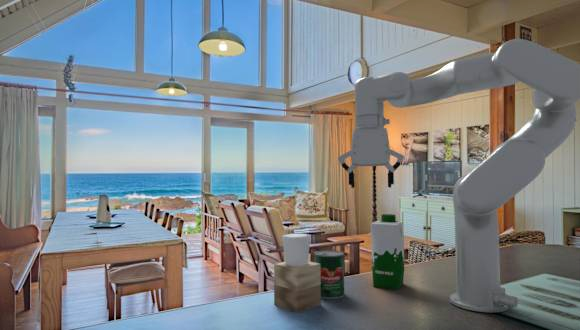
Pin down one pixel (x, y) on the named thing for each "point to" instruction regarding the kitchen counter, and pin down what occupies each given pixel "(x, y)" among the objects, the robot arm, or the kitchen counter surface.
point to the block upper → (297, 276)
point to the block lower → (297, 298)
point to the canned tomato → (331, 273)
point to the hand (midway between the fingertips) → (371, 187)
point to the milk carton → (387, 252)
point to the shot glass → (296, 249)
